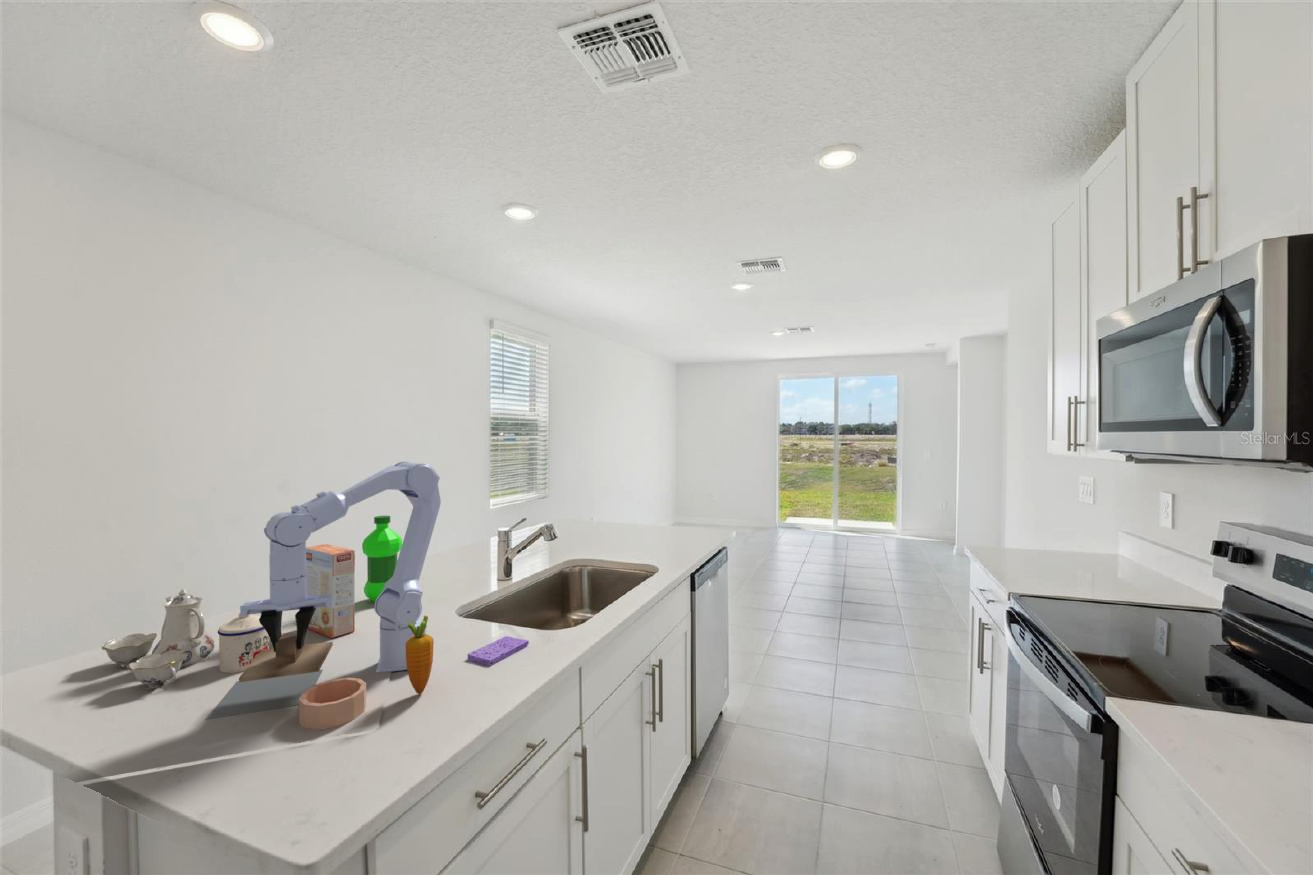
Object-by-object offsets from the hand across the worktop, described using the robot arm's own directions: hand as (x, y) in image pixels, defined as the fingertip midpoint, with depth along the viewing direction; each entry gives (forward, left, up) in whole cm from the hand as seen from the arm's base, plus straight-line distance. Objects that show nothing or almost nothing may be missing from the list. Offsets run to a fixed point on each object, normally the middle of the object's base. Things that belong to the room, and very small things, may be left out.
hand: (289, 648), depth 101 cm
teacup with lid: (+12, -22, -10) cm, 27 cm away
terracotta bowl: (-9, +9, -10) cm, 16 cm away
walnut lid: (0, 0, -3) cm, 3 cm away
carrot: (-23, +6, -10) cm, 26 cm away
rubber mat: (+4, -4, -10) cm, 12 cm away
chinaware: (+29, -26, -10) cm, 40 cm away
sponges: (-39, -9, -11) cm, 41 cm away
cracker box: (0, -38, -10) cm, 39 cm away
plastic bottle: (-10, -59, -10) cm, 61 cm away
